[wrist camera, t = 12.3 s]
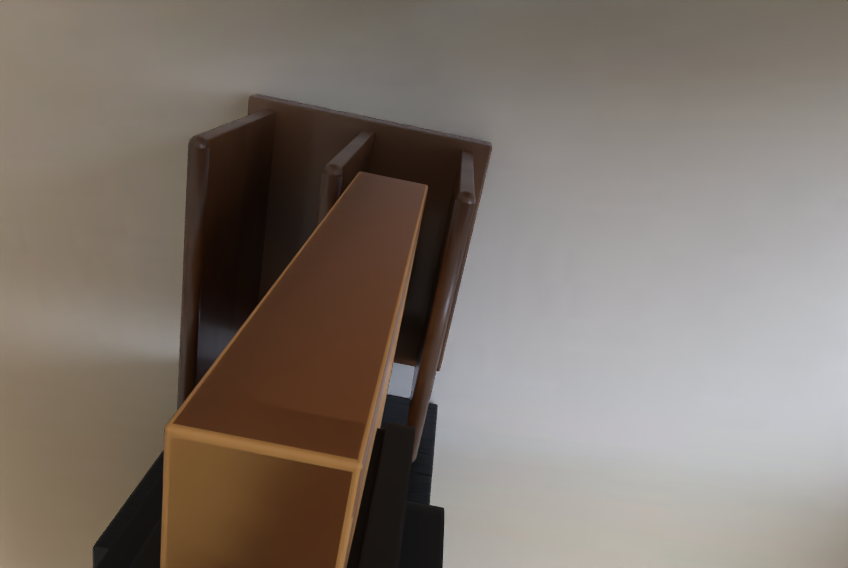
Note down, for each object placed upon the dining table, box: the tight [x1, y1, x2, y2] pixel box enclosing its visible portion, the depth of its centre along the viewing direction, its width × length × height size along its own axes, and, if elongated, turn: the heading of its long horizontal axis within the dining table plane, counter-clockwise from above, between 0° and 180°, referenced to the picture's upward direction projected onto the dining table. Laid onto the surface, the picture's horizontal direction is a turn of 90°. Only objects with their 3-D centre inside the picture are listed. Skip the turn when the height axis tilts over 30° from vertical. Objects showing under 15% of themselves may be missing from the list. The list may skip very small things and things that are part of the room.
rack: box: [177, 94, 492, 462], centre depth 20 cm, size 9×8×7 cm
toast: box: [160, 172, 428, 568], centre depth 12 cm, size 8×2×11 cm, turn 169°
